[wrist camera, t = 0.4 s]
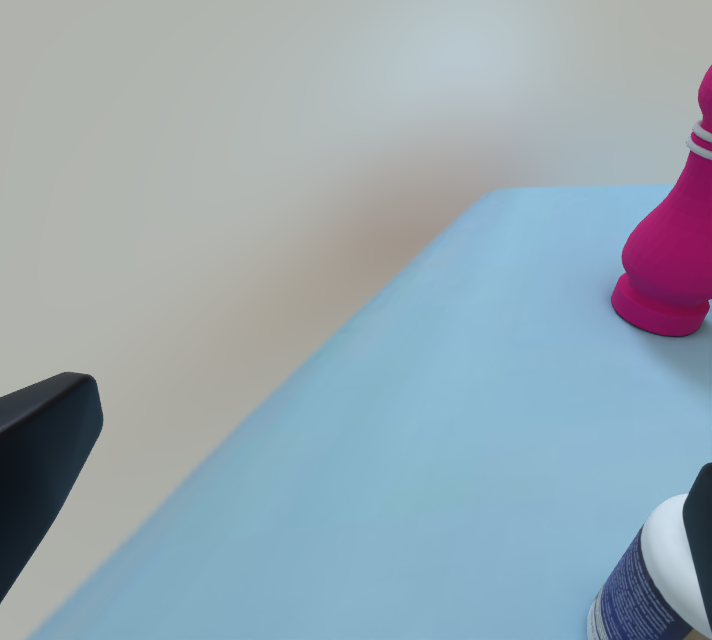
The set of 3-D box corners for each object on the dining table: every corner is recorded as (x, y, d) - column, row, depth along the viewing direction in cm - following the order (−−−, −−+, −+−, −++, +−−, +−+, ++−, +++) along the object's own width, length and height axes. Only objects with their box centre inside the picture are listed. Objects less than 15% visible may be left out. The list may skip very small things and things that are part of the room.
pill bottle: (617, 740, 20) (749, 614, 14) (564, 590, 24) (647, 444, 18) (759, 733, 20) (948, 607, 14) (682, 587, 24) (802, 442, 18)
